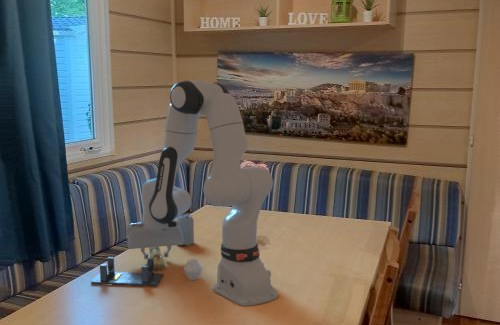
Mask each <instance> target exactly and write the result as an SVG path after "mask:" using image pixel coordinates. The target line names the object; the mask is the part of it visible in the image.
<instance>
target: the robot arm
mask: <svg viewBox="0 0 500 325" xmlns="http://www.w3.org/2000/svg"><path fill="white" fill-rule="evenodd" d="M169 100H170V104H169V106H168V110H167V116H166V118H165V119H166V120H165V126H164V128H165V129H164V130H165V131H164V140H163V146H162V149H161V153H160V158H159V161H158V162H159V163H158V166H157V167H158V168H157V174H156V178H151V179H148V180H145V181H144V182H143V184H142V189H141V203H142V207H143V210H142V211H143V212H142V222H136V223H133V222H132V223H130V224H128V225H127V226H126V228H125V231H126V232H125V233H126V235H127V247H128V249H129V250H136V249H140V252H141V253H142V255H143V259H144V260H147V259H148V258H149V253H148V252H145V250H146V249H145V248H147V249H149V247H159V248H160V247H166V248H167V249H166V250H165V251H163V257H164V258H169V253H170V252H171V249H172V246H179V245H182V243H183V233H182V230H181V227H180V226H179V224H180V223H179V220H178V218H177V217H178V216H180V215H182V214H186V212H187V211H189V210H190V209H191V207H192V204H193V203H192V196H191V194H190V193H189V192H188V190H187V189H184V188H183V187H182V188H181V187H177V186H175V184H176V177H177V173H178V170H179V167H180V166H181V164H182V163H183V162H184V161H185V159H186V158H188V156H190V155H191V153H193V151H194V150H195V148H196V144H197V143H196V142H197V138H198V137H197V136H198V122H199V119H200V118H201V117H202V116H203V115H204V116H205V118H206V120H207V125H208V131H209V135H210V139H211V144H212V145H211V146H212V150H213V152H212V153H213V163H212V168H211V171H210V173H209V174H208V176H207V178H206V179H205V181H204V184H203V195H204V198H205V200H206V201H207V203H209V204H210V205H211V206H213V207H230V206H231V209H230V210H229V212H228V213H227V215H225V217H224V219H223V220H222V224H221V226H222V228H221V229H222V230H221V231H222V232H221V233H222V237H221V239H222V241H221V242H222V243H221V244H220V245H221V246H220V254H221V259H220V261H219V262H218V264H217V272H216V273H217V274H216V284H215V285H214V286H213V288H212V291H213V292H215V293H217V294H218V295H221V296H222V297H224V298H226V299H228V300H230V301H231V302H234V303H235V304H237V305H239V306H246V307H247V306H256V305H260V304H265V303H269V302H271V301H274V300H276V299H277V298H278V297H279V291H277V290H276V289H275V287H273V285H271V284H272V282H271V277H272V273H271V270H270V269H267V268H266V267H265V263H263V262H262V260H261V259H260V254H261V253H260V252H261V251H260V249H259V245H258V242H257V232H258V231H257V228H258V227H257V226H258V219H259V214H260V212H261V208H262V206H263V204H264V201H265V199H266V198H267V196H268V195H269V194H270V193H271V192H272V190H273V186H274V180H273V179H274V178H273V177H272V174H271V173H270V171H269V170H268V169H266V168H264V167H260V166H248V167H241V161H242V156H243V155H244V154H245V153H246V151H247V150H248V146H249V144H248V140H247V136H246V131H245V125H244V122H243V118H242V115H241V112H240V109H239V106H238V103H237V101H236V99H235V97H234V96H233V95H231V94H230V92H229V90H228V88H227V86H224V85H223V84H221V83H218V82H214V81H213V82H210V81H205V80H182V81H179V82H177V83H175V84H174V85H172V87H171V90H170V94H169Z"/></svg>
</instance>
